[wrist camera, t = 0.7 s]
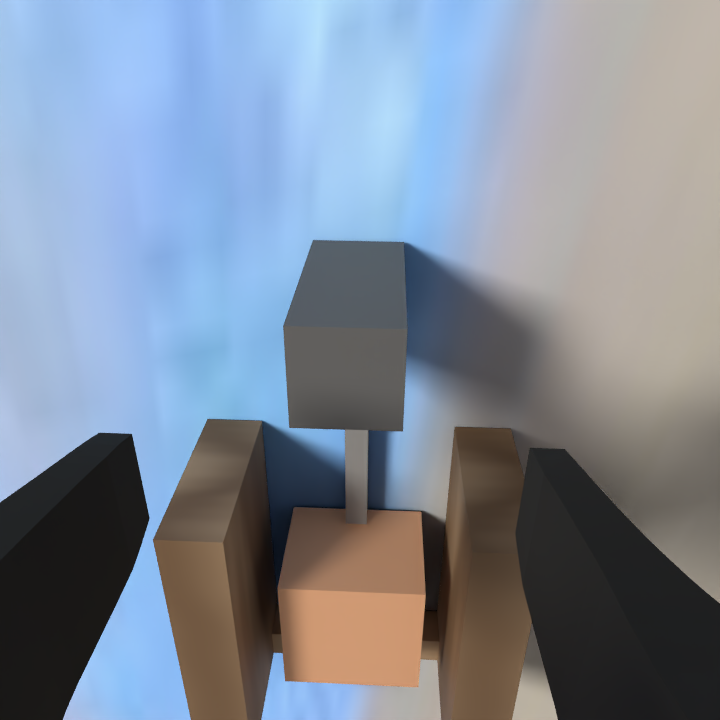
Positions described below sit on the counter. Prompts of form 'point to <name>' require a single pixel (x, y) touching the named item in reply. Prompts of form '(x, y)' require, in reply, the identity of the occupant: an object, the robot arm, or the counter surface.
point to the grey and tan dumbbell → (351, 475)
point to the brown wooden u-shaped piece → (258, 585)
